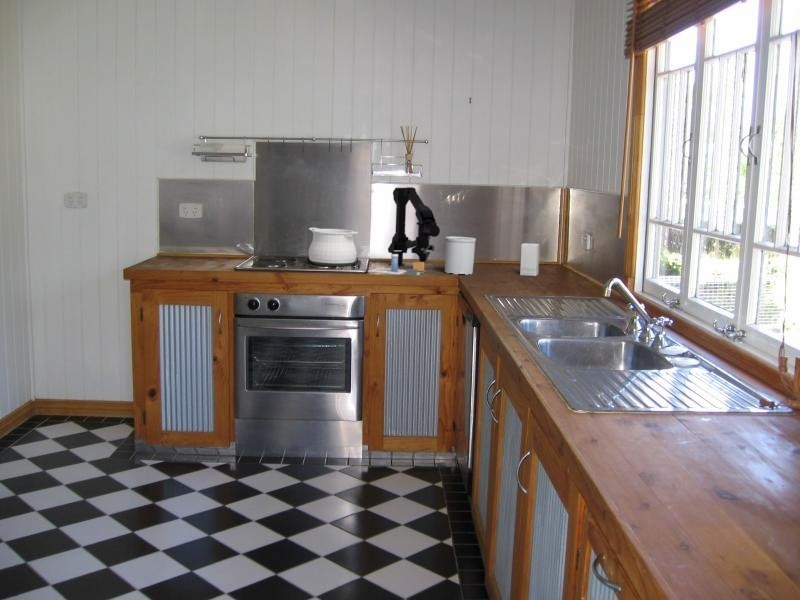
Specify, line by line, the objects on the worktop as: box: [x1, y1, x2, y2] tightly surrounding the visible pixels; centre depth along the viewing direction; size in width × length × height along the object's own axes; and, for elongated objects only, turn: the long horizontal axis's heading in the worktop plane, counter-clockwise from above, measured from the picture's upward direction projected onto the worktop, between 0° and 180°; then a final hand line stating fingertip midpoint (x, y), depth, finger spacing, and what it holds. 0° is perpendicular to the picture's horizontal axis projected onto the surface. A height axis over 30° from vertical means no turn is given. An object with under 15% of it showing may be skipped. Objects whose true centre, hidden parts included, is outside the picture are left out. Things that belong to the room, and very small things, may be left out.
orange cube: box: [412, 260, 425, 271], centre depth 430 cm, size 4×4×4 cm
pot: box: [308, 227, 359, 267], centre depth 449 cm, size 28×24×17 cm
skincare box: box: [519, 242, 540, 277], centre depth 439 cm, size 8×7×16 cm
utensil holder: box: [444, 236, 477, 276], centre depth 435 cm, size 15×15×18 cm
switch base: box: [406, 268, 427, 277], centre depth 427 cm, size 14×5×3 cm, turn 160°
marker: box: [390, 253, 399, 272], centre depth 428 cm, size 3×3×8 cm
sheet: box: [367, 267, 407, 275], centre depth 431 cm, size 15×16×1 cm
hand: (422, 266), depth 435 cm, fingers closed
